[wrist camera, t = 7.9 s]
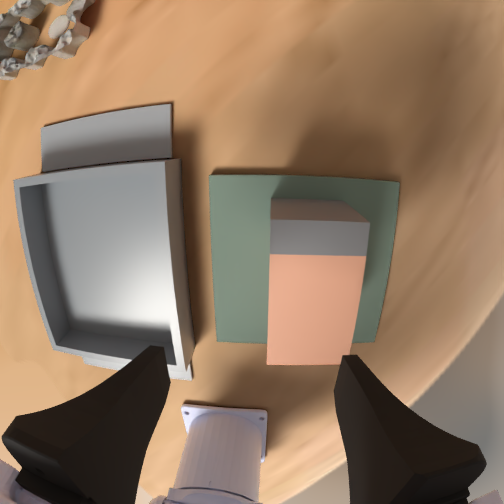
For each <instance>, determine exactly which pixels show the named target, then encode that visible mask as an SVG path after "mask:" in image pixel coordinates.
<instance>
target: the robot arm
mask: <svg viewBox="0 0 504 504" xmlns="http://www.w3.org/2000/svg"><path fill="white" fill-rule="evenodd" d="M170 383H171V382H170V377H169V372H168V366H167V361H166V355H165V350H164V347H161V346H153V345H150V346H149V347H147V348H146V349H145V350H144V351H143V352H141V353H140V354H139V355H138V356H136V357H135V358H134V359H133V360H132V361H130V362H129V363H128V364H127V365H125V366H124V367H123V368H122V369H120V370H119V371H118V372H116V373H115V374H114V375H112V376H111V377H109V378H108V379H107V380H105V381H104V382H102V383H101V384H99V385H98V386H96V387H94V388H93V389H91V390H89V391H87V392H86V393H84V394H82V395H80V396H78V397H76V398H74V399H71V400H69V401H67V402H65V403H62V404H60V405H57V406H55V407H52V408H49V409H45V410H42V411H38V412H34V413H30V414H25V415H20V416H16V417H15V419H14V420H13V422H12V423H11V424H10V426H9V427H8V428H7V430H6V431H5V432H4V434H3V435H2V441H3V443H4V445H5V446H6V448H7V449H8V451H9V452H10V453H11V455H12V456H13V457H14V458H15V459H16V461H17V462H18V463H19V464H20V465H21V466H22V469H21V471H20V472H19V471H17V470H16V469H15V468H13V467H12V466H10V465H9V464H7V463H6V462H4V461H2V460H1V459H0V504H135V499H136V494H137V488H138V483H139V478H140V474H141V469H142V465H143V461H144V458H145V454H146V450H147V447H148V444H149V442H150V439H151V437H152V434H153V432H154V429H155V427H156V425H157V422H158V420H159V417H160V415H161V413H162V410H163V408H164V405H165V403H166V399H167V395H168V391H169V387H170ZM334 397H335V406H336V413H337V418H338V422H339V426H340V430H341V435H342V439H343V443H344V447H345V452H346V457H347V463H348V474H349V488H350V504H503V502H502V500H501V497H500V495H499V492H498V490H494V491H492V492H490V493H488V494H485V495H483V496H481V497H479V498H477V499H475V500H473V501H471V502H470V503H468V501H467V497H468V496H469V495H470V493H469V490H468V487H469V486H470V485H471V484H472V483H473V482H474V481H475V480H476V479H477V478H478V477H479V476H480V475H481V473H482V472H483V471H484V469H485V467H486V460H485V458H484V456H483V454H482V452H481V450H480V448H479V446H478V445H477V444H474V443H471V442H469V441H466V440H463V439H461V438H457V437H456V436H453V435H451V434H449V433H447V432H445V431H443V430H441V429H439V428H438V427H436V426H434V425H432V424H431V423H429V422H428V421H426V420H425V419H423V418H422V417H420V416H419V415H417V414H416V413H415V412H413V411H412V410H411V409H409V408H408V407H407V406H406V405H404V404H403V403H402V402H401V401H400V400H399V399H398V398H397V397H395V396H394V395H393V394H392V393H391V392H390V391H389V390H388V389H387V388H386V387H385V386H384V385H383V384H382V383H381V382H380V380H379V379H378V378H377V377H376V376H375V375H374V374H373V373H372V372H371V370H370V369H369V368H368V367H367V366H366V365H365V363H364V362H363V361H362V360H361V359H360V358H359V357H358V355H342V359H341V364H340V368H339V372H338V376H337V381H336V385H335V389H334ZM181 411H182V415H183V419H184V423H185V427H186V431H187V439H186V442H185V446H184V450H183V453H182V457H181V461H180V464H179V468H178V472H177V476H176V479H175V483H174V487H173V488H169V492H168V496H167V497H165V496H162V495H159V496H158V497H157V498H154V499H152V500H151V501H150V503H149V504H263V503H258V499H259V483H260V466H261V463H262V462H264V461H265V448H266V431H267V411H265V410H260V409H238V408H223V407H211V406H201V405H192V404H183V405H182V406H181ZM186 411H187V412H186ZM261 417H263V418H261Z"/></svg>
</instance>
